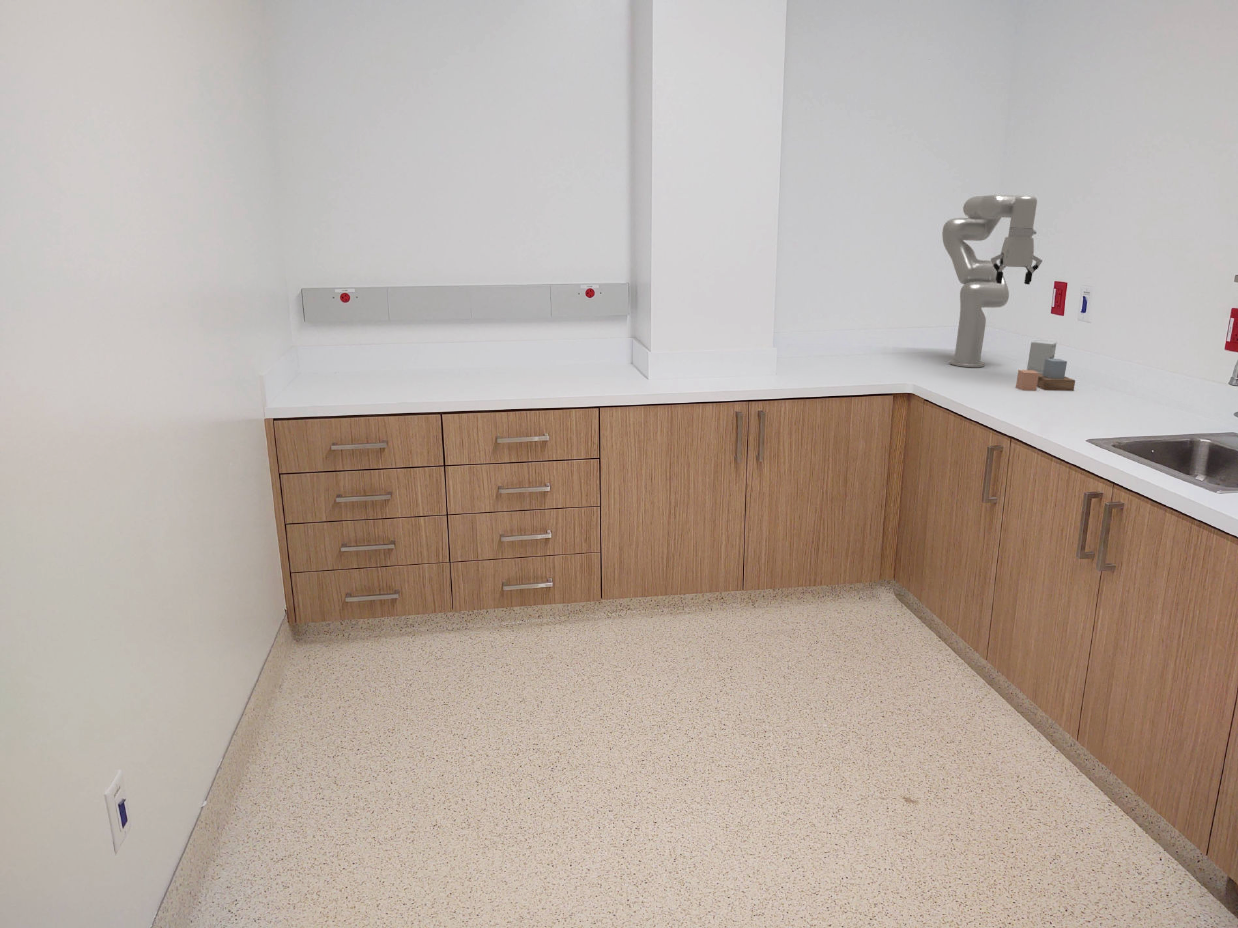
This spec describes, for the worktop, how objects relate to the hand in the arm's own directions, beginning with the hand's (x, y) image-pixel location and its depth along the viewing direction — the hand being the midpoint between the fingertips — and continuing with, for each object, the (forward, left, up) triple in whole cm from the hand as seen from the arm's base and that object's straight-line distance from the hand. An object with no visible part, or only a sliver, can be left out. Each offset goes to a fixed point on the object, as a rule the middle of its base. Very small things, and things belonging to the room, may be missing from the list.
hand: (1012, 283), depth 322 cm
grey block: (+16, +12, -30) cm, 36 cm away
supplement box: (-5, +16, -34) cm, 37 cm away
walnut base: (+16, +12, -34) cm, 39 cm away
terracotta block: (+20, +2, -33) cm, 39 cm away
